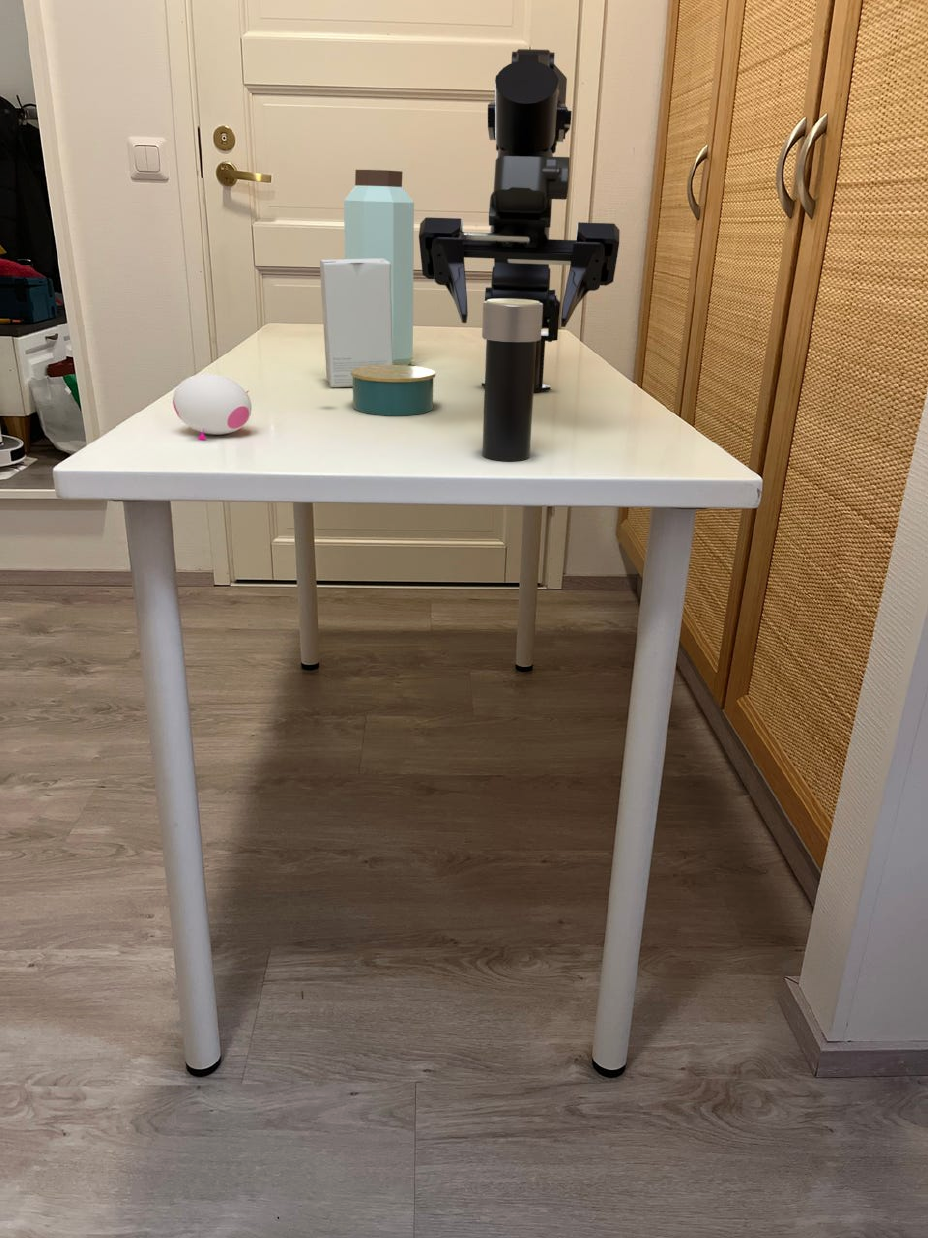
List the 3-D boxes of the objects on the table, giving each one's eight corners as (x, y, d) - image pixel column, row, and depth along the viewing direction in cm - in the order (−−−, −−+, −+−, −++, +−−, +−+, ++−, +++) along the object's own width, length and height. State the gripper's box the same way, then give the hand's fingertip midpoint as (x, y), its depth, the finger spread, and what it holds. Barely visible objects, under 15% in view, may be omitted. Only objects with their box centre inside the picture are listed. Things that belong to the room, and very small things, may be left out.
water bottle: (425, 361, 139) (427, 173, 129) (398, 371, 130) (399, 169, 120) (362, 356, 142) (360, 171, 132) (332, 365, 133) (328, 168, 123)
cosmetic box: (387, 379, 124) (387, 257, 118) (394, 387, 119) (394, 260, 113) (322, 380, 122) (319, 256, 116) (326, 388, 117) (323, 259, 111)
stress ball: (258, 465, 95) (272, 403, 96) (229, 433, 87) (244, 366, 88) (187, 456, 96) (202, 395, 97) (152, 424, 88) (168, 358, 89)
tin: (406, 396, 113) (406, 362, 112) (451, 411, 106) (452, 374, 105) (336, 403, 108) (335, 367, 106) (378, 419, 101) (378, 380, 99)
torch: (510, 446, 91) (518, 297, 86) (545, 458, 87) (555, 302, 82) (466, 452, 88) (471, 298, 83) (500, 465, 85) (508, 304, 79)
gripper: (422, 121, 87) (405, 255, 81) (627, 126, 86) (625, 262, 80) (430, 214, 97) (416, 339, 91) (613, 220, 96) (611, 347, 90)
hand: (513, 321), depth 88 cm, fingers open, 9 cm apart
